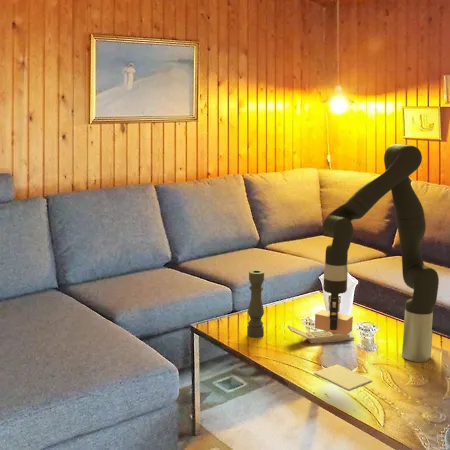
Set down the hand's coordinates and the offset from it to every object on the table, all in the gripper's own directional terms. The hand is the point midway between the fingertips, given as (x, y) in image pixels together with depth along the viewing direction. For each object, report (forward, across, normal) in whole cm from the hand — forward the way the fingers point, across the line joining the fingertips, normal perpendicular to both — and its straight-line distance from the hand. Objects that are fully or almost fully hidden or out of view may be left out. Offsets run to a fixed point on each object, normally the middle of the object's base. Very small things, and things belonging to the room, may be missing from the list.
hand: (333, 325), depth 205 cm
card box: (+1, 0, 0) cm, 1 cm away
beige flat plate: (+16, -5, -4) cm, 17 cm away
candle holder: (+16, +26, +29) cm, 42 cm away
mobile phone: (+16, +26, +5) cm, 31 cm away
